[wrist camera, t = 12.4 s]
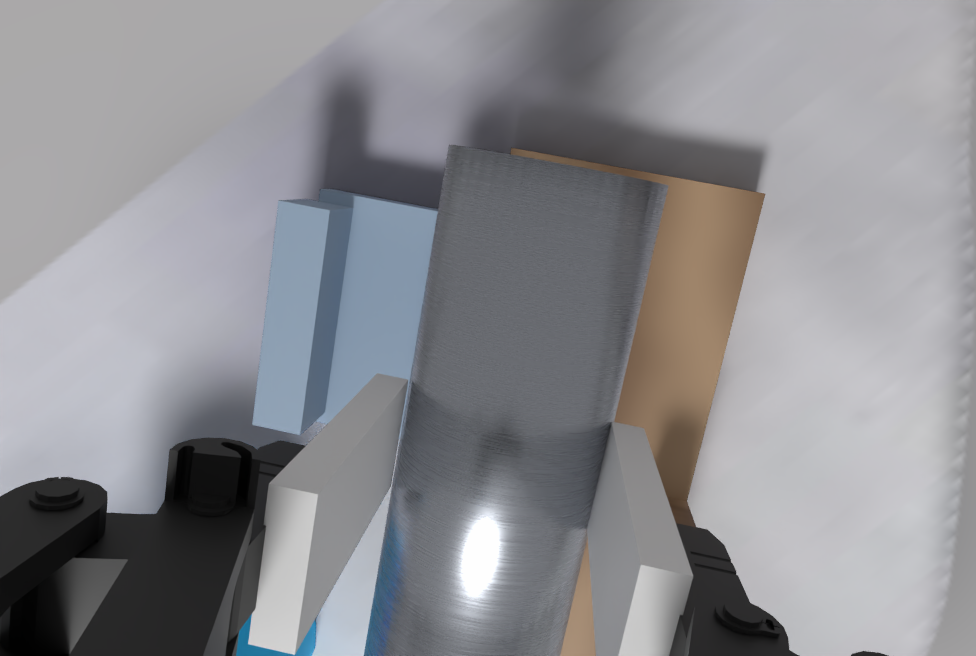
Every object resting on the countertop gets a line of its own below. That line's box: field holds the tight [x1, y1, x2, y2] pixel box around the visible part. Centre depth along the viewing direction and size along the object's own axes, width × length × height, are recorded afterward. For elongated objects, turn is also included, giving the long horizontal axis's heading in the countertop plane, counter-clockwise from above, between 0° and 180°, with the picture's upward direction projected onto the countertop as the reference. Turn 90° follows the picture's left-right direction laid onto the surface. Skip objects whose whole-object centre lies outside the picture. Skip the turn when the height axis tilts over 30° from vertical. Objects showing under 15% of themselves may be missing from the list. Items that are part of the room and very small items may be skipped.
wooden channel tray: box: [510, 148, 765, 656], centre depth 30 cm, size 10×24×5 cm, turn 170°
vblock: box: [252, 189, 438, 439], centre depth 30 cm, size 8×10×4 cm
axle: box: [364, 145, 669, 656], centre depth 18 cm, size 14×5×5 cm, turn 170°
